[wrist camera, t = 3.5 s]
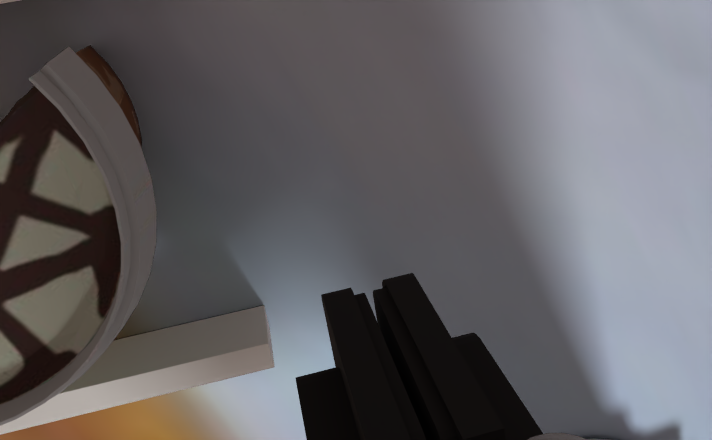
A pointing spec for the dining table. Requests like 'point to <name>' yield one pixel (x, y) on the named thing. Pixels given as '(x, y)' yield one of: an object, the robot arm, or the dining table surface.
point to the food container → (69, 227)
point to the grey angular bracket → (162, 364)
